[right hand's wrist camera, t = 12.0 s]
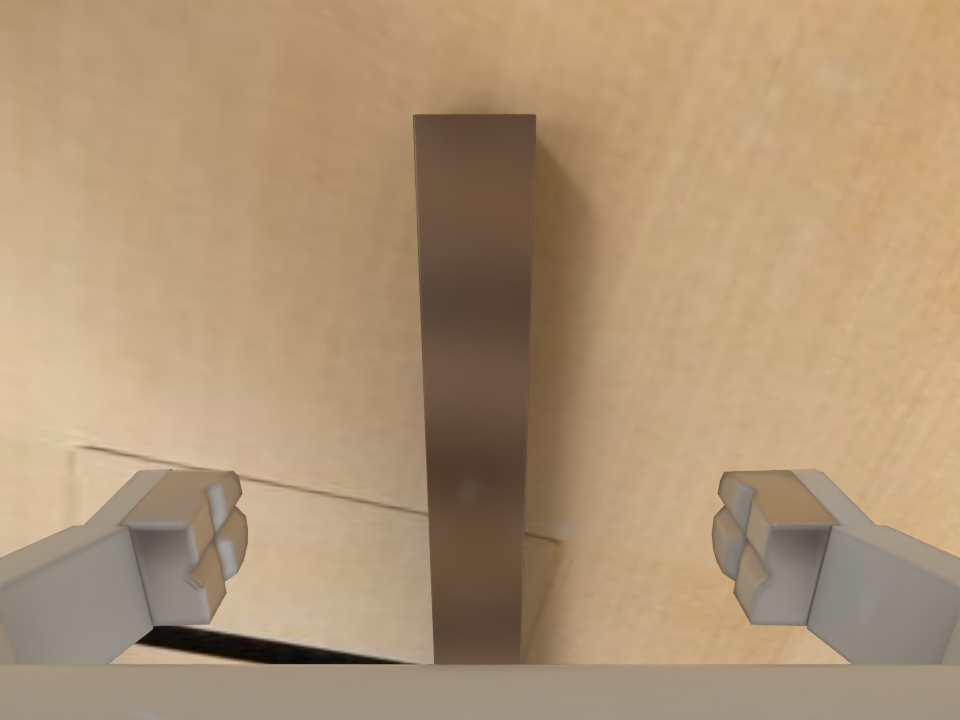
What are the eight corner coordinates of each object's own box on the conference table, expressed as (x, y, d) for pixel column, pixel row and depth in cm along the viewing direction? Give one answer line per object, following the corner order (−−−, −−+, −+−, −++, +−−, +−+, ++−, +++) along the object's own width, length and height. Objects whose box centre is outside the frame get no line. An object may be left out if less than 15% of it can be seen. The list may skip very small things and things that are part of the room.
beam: (426, 117, 31) (412, 114, 25) (523, 116, 31) (536, 114, 25) (448, 804, 50) (443, 910, 43) (509, 804, 50) (513, 910, 43)
